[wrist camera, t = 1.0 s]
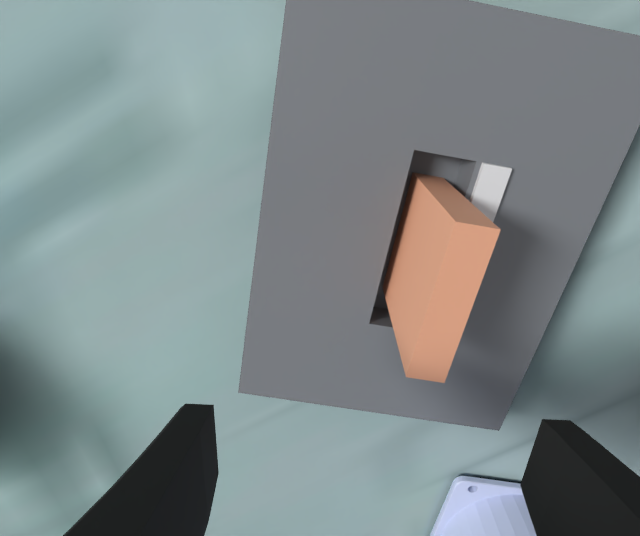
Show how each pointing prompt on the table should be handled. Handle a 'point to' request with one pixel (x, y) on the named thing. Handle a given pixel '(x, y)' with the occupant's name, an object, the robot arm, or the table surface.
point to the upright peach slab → (435, 274)
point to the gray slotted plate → (436, 160)
